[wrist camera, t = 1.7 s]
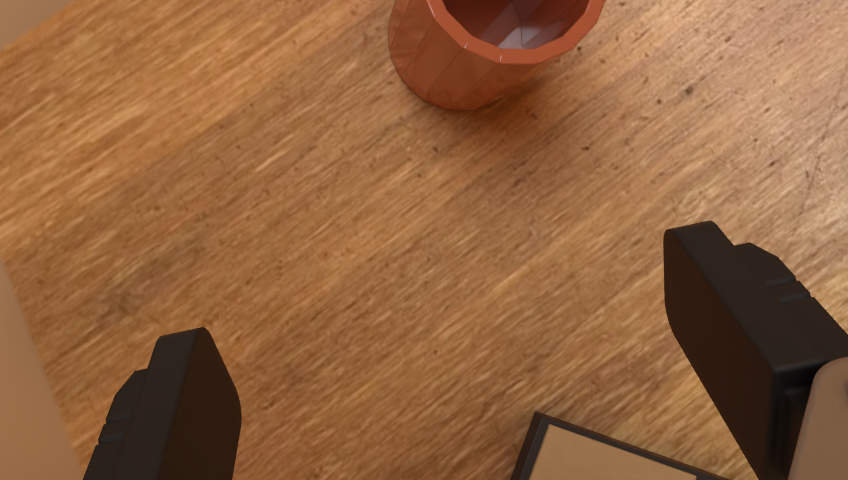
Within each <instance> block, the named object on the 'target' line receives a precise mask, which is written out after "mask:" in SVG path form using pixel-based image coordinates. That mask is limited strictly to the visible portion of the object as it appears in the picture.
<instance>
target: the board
mask: <svg viewBox="0 0 848 480" xmlns="http://www.w3.org/2000/svg"><path fill="white" fill-rule="evenodd" d="M510 480H729V479H726V478H724V477H721V476H718V475H715V474H712V473H709V472H707V471H704V470H701V469H698V468H695V467H693V466H690V465H687V464H684V463H681V462H678V461H676V460H673V459H670V458H667V457H664V456H661V455H659V454H656V453H653V452H650V451H647V450H644V449H642V448H639V447H636V446H633V445H630V444H628V443H625V442H622V441H619V440H616V439H613V438H611V437H608V436H605V435H602V434H599V433H596V432H594V431H591V430H588V429H585V428H582V427H579V426H577V425H574V424H571V423H568V422H565V421H563V420H560V419H557V418H554V417H551V416H548V415H546V414H543V413H540V412H537V411H536V412H535V414H534V417H533V419H532V422H531V425H530V427H529V430H528V433H527V436H526V438H525V441H524V444H523V447H522V449H521V452H520V455H519V458H518V460H517V463H516V466H515V469H514V471H513V474H512V477H511V479H510Z"/></svg>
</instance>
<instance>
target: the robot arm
mask: <svg viewBox="0 0 848 480" xmlns="http://www.w3.org/2000/svg"><path fill="white" fill-rule="evenodd" d="M663 246H664V293H665V308H666V313H667V317H668V321H669V324H670V327H671V329H672V332H673V334H674V336H675V338H676V339H677V341H678V343H679V345H680V346H681V348H682V350H683V351H684V353H685V355H686V357H687V358H688V360H689V362H690V363H691V365H692V367H693V368H694V370H695V372H696V374H697V375H698V377H699V379H700V380H701V382H702V384H703V385H704V387H705V389H706V391H707V392H708V394H709V396H710V397H711V399H712V401H713V402H714V404H715V406H716V408H717V409H718V411H719V413H720V414H721V416H722V418H723V420H724V421H725V423H726V425H727V426H728V428H729V430H730V431H731V433H732V435H733V437H734V438H735V440H736V442H737V443H738V445H739V447H740V448H741V450H742V452H743V454H744V455H745V457H746V459H747V460H748V462H749V464H750V465H751V467H752V469H753V471H754V472H755V474H756V476H757V477H758V479H759V480H848V334H847V333H846V332H845V331H844V330H843V329H842V328H841V327H840V326H839V324H838V323H837V322H836V321H835V320H834V319H833V318H832V317H831V316H830V315H829V313H828V312H827V311H826V310H825V309H824V308H823V307H822V306H821V305H820V303H819V302H818V301H817V300H816V299H815V298H814V297H812V298H811V296H810V292H809V291H808V290H807V289H806V288H805V287H804V286H803V285H802V283H801V282H800V281H796V278H795V276H794V275H793V273H792V272H791V271H790V270H789V269H788V268H787V267H786V266H785V265H784V263H783V262H782V261H781V260H780V259H779V258H778V257H777V256H775V255H773V254H771V253H769V252H767V251H765V250H763V249H761V248H760V247H758V246H756V245H754V244H752V243H750V242H749V243H745V244H740V245H735V246H734V245H733V244H732V243H731V242H730V240H729V239H728V238H727V237H726V236H725V234H724V233H723V232H722V231H721V230H720V228H719V227H718V226H717V225H716V224H715V223H714V222H713V221H705V222H700V223H696V224H691V225H686V226H682V227H677V228H672V229H667V230H666V231H665V233H664V239H663ZM241 419H242V418H241V406H240V400H239V396H238V393H237V390H236V388H235V386H234V383H233V381H232V379H231V377H230V375H229V373H228V371H227V368H226V366H225V364H224V362H223V360H222V358H221V356H220V353H219V351H218V349H217V347H216V345H215V343H214V341H213V338H212V336H211V334H210V333H209V331H208V330H207V329H206V328H204V327H201V328H196V329H192V330H187V331H182V332H178V333H173V334H168V335H164V336H160V337H159V338H158V340H157V342H156V345H155V348H154V350H153V353H152V356H151V359H150V362H149V365H148V368H147V369H143V370H138V371H135V372H134V373H133V374H132V375H131V376H130V378H129V379H128V380H127V381H126V383H125V384H124V385H123V386H122V387H121V389H120V390H119V391H118V392H117V393H116V395H115V397H114V399H113V402H112V404H111V407H110V410H109V412H108V415H107V418H106V424H105V425H103V428H102V431H101V433H100V436H99V439H98V441H99V445H96V447H95V449H94V452H93V454H92V457H91V460H90V462H89V465H88V468H87V470H86V473H85V475H84V478H83V480H232V477H233V471H234V465H235V459H236V453H237V447H238V441H239V435H240V429H241Z"/></svg>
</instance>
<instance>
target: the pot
mask: <svg viewBox="0 0 848 480" xmlns="http://www.w3.org/2000/svg"><path fill="white" fill-rule="evenodd" d="M604 3H605V0H396V1H395V4H394V7H393V9H392V12H391V15H390V19H389V27H388V43H389V50H390V54H391V58H392V61H393V63H394V66H395V68H396V70H397V72H398V74H399V75H400V77H401V78H402V80H403V81H404V82H405V84H406V85H407V86H408V87H409V88H410V89H411V90H412V91H413V92H414V93H415V94H417V95H418V96H419V97H421V98H422V99H424V100H425V101H427V102H429V103H431V104H433V105H436V106H439V107H442V108H446V109H451V110H471V109H476V108H480V107H483V106H486V105H488V104H490V103H492V102H494V101H496V100H498V99H500V98H502V97H504V96H506V95H507V94H508V93H510V92H511V91H513V90H514V89H516V88H517V87H519V86H520V85H521V84H523V83H524V82H526V81H527V80H529V79H530V78H531V77H533V76H534V75H536V74H537V73H539V72H540V71H541V70H543V69H544V68H546V67H547V66H549V65H550V64H552V63H553V62H554V61H556V60H557V59H559V58H560V57H562V56H563V55H564V54H566V53H567V52H569V51H570V50H572V49H573V48H574V47H575V46H576V45H577V44H578V43H579V42H580V40H581V39H582V38H583V37H584V36H585V35H586V34H587V33H588V32H589V31H590V30H591V29H592V28H593V27H594V25H595V24H596V23H597V21H598V19H599V16H600V14H601V11H602V8H603V6H604Z"/></svg>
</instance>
